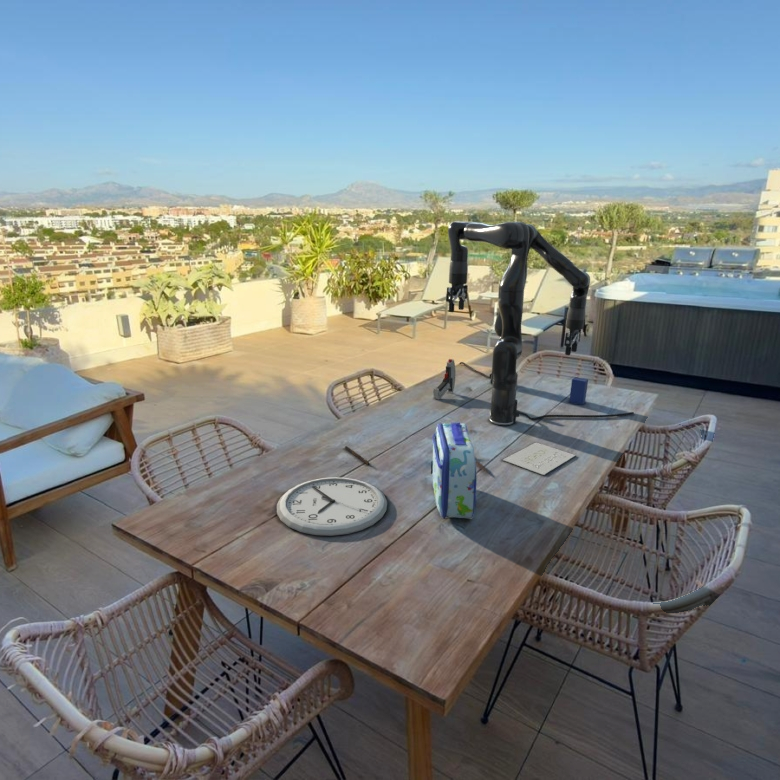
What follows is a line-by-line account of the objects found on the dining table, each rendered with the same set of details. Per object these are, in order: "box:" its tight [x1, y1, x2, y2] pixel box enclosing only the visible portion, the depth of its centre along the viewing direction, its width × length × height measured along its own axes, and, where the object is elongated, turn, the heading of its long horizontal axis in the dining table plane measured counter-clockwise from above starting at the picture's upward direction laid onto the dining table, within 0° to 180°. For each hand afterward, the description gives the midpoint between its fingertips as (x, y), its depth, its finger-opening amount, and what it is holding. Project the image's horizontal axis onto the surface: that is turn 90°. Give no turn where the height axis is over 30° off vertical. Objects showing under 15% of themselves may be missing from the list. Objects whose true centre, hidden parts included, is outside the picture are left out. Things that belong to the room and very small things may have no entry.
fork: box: [475, 459, 488, 474], centre depth 169 cm, size 3×16×2 cm, turn 15°
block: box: [568, 376, 589, 406], centre depth 230 cm, size 4×6×11 cm
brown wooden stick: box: [344, 445, 370, 465], centre depth 173 cm, size 15×1×1 cm, turn 34°
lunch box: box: [430, 422, 478, 520], centre depth 143 cm, size 26×11×21 cm, turn 179°
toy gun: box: [433, 358, 456, 400], centre depth 235 cm, size 2×16×15 cm
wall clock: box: [276, 476, 388, 537], centre depth 142 cm, size 30×2×30 cm
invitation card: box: [502, 442, 577, 476], centre depth 174 cm, size 21×1×15 cm
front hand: (456, 310), depth 223 cm, fingers open, 8 cm apart
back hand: (570, 353), depth 238 cm, fingers open, 8 cm apart
